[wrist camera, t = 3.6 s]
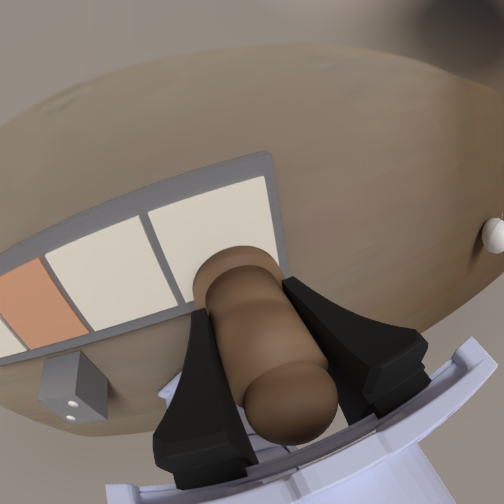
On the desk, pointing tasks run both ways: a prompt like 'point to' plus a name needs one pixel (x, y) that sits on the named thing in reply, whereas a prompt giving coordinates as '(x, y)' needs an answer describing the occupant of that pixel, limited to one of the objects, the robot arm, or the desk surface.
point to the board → (133, 257)
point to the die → (74, 388)
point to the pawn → (265, 347)
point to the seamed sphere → (493, 235)
